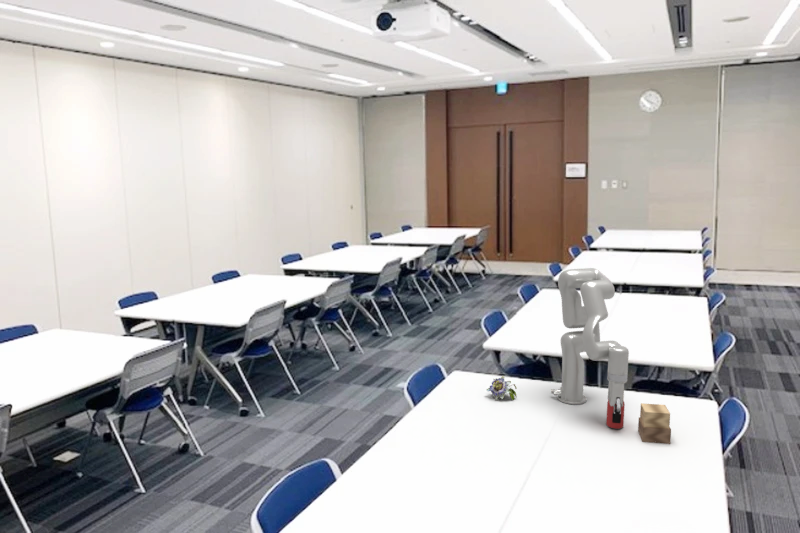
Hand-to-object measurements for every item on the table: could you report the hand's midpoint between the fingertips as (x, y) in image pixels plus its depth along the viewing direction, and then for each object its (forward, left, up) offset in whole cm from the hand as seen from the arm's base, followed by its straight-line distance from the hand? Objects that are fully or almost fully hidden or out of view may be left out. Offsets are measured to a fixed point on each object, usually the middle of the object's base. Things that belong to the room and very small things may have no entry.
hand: (615, 418), depth 252 cm
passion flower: (-46, +25, -4) cm, 53 cm away
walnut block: (+13, -8, -4) cm, 16 cm away
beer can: (0, 0, -3) cm, 3 cm away
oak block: (+13, -8, +2) cm, 16 cm away
